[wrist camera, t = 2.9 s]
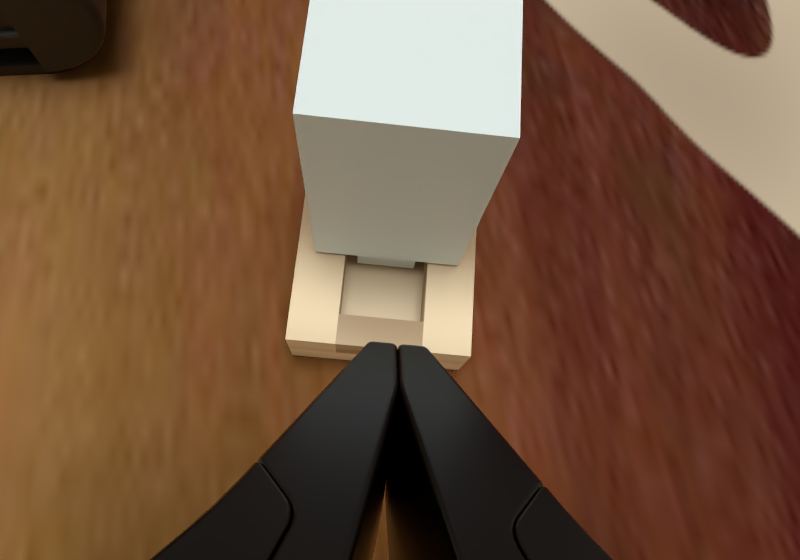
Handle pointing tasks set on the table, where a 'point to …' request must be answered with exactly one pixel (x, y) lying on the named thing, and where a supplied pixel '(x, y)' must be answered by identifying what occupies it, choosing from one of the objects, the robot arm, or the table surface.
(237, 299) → the table surface
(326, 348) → the beam
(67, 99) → the table surface
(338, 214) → the block
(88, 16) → the end cap
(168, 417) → the table surface
